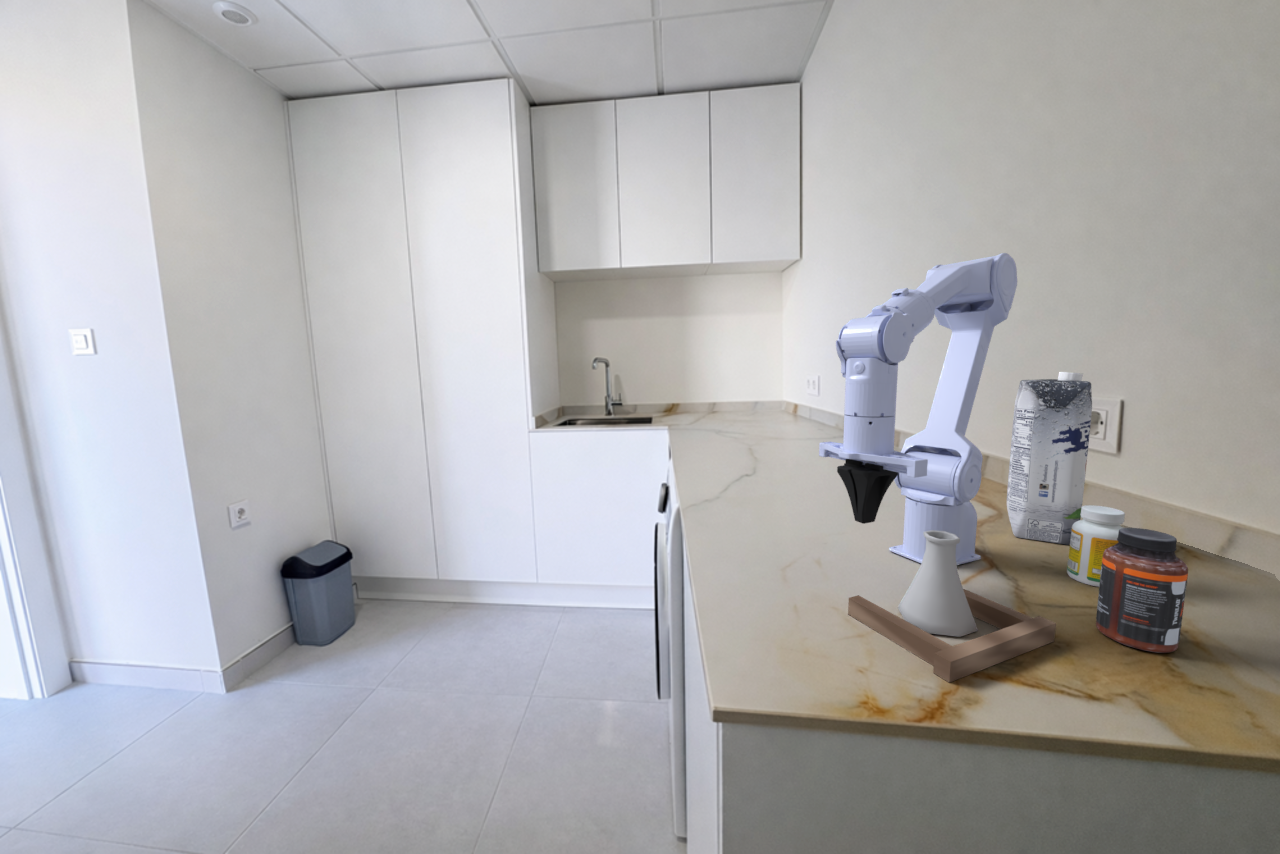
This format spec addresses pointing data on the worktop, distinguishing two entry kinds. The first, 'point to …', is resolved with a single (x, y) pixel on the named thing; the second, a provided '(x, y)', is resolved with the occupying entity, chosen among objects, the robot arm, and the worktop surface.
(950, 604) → the flask
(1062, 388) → the juice carton
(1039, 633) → the walnut bay
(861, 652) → the worktop surface
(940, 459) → the robot arm
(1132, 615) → the supplement bottle
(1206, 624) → the worktop surface
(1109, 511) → the supplement bottle
